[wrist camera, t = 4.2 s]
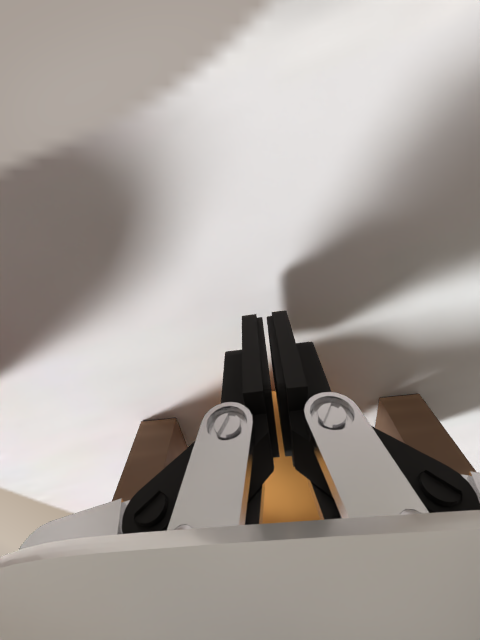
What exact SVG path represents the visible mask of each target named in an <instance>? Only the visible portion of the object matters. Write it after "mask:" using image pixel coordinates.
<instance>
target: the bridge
mask: <svg viewBox="0 0 480 640" xmlns="http://www.w3.org/2000/svg"><path fill="white" fill-rule="evenodd" d="M375 428H376V429H378V430H380V431H382V432H384V433H386V434H388V435H390V436H392V437H393V438H395V439H397V440H399V441H401V442H403V443H405V444H407V445H409V446H411V447H413V448H415V449H416V450H418V451H420V452H422V453H424V454H426V455H428V456H430V457H432V458H434V459H436V460H438V461H439V462H441V463H443V464H445V465H447V466H449V467H450V468H452V469H453V470H455V471H457V472H458V473H459V474H461V475H469V473H470V471H471V472H476V471H475V469H474V468H473V467H472V465H471V464H470V463H469V461H468V460H467V459H466V457H465V456H464V454H463V453H462V452H461V450H460V449H459V448H458V446H457V445H456V444H455V442H454V441H453V439H452V438H451V437H450V435H449V434H448V433H447V431H446V430H445V429H444V427H443V426H442V424H441V423H440V422H439V420H438V419H437V418H436V416H435V415H434V414H433V412H432V411H431V409H430V408H429V407H428V405H427V404H426V403H425V401H424V400H423V399H422V397H421V396H420V394H414V395H404V396H394V397H384V398H379V405H378V411H377V418H376V424H375ZM186 449H187V445H186V443H185V440H184V438H183V435H182V432H181V430H180V427H179V425H178V422H177V420H176V418H173V419H163V420H153V421H142V422H141V424H140V426H139V429H138V432H137V434H136V437H135V440H134V443H133V445H132V448H131V451H130V453H129V456H128V459H127V462H126V464H125V467H124V470H123V472H122V475H121V478H120V481H119V483H118V486H117V489H116V491H115V494H114V497H113V500H112V501H115V500H118V499H121V498H122V500H123V501H124V502H125V501H128V500H131V498H132V497H133V496H134V495H135V494H136V493H137V492H138V491H139V490H140V489H141V488H142V487H143V486H144V485H146V484H147V483H148V482H149V481H150V480H151V479H152V478H154V477H155V476H156V475H157V474H158V473H159V472H161V471H162V470H163V469H164V468H165V467H166V466H167V465H169V464H170V463H171V462H172V461H173V460H174V459H175V458H177V457H178V456H179V455H180V454H181V453H182V452H183V451H185V450H186Z"/></svg>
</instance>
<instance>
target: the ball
mask: <svg viewBox="0 0 480 640" xmlns="http://www.w3.org/2000/svg"><path fill="white" fill-rule="evenodd" d="M272 399H273V407H274V415H275V423H276V431H277V439H278V447H279V455H280V457H275V458H273V460H274V471H273V473H272V474H271V475H270V476H269V477H268V478H267V480H266V481H265V482H264V484H265V494H264V507H263V521H262V524H267V523H282V522H297V521H312V520H321V519H320V516H319V514H318V511H317V508H316V505H315V502H314V499H313V497H312V494H311V491H310V488H309V485H308V480H307V478H306V477H305V476H303V475H302V474H301V473H300V472H298V471H297V470H296V469H295V467H293V462H292V456H287V457H285V452H284V445H283V438H282V431H281V425H280V418H279V411H278V404H277V397H276V391H272Z"/></svg>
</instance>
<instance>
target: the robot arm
mask: <svg viewBox="0 0 480 640" xmlns="http://www.w3.org/2000/svg"><path fill="white" fill-rule="evenodd" d="M267 324H268V333H269V342H270V350H271V359H272V368H273V376H274V383H275V390H276V397H277V404H278V411H279V418H280V425H281V431H282V438H283V445H284V452H285V457H287V456H292V462H293V467H295V469H296V470H297V471H298V472H300V473H301V474H302V475H303V476H305V477H306V478H307V480H308V485H309V488H310V491H311V494H312V497H313V499H314V502H315V505H316V508H317V511H318V514H319V516H320V519H321V520H312V521H297V522H282V523H267V524H262V521H263V507H264V494H265V484H264V482H265V481H266V480H267V478H268V477H269V476H270V475H271V474H272V473H273V471H274V460H273V458H275V457H280V455H279V447H278V439H277V431H276V423H275V415H274V407H273V399H272V391H271V383H270V375H269V368H268V360H267V352H266V344H265V336H264V328H263V320H262V317H260V318H257V317H256V314H254V315H246V316H242V350H236V351H227V352H225V361H224V373H223V386H222V398H221V404H219V405H216V406H215V407H213V408H212V409H210V410H209V411H208V412H207V413H206V414H205V416H204V418H203V420H202V422H201V425H200V428H199V431H198V435H197V438H196V441H195V442H194V443H193V444H191V445H190V446H189V447H188V448H187V449H186V450H185V451H183V452H182V453H181V454H180V455H179V456H178V457H177V458H175V459H174V460H173V461H172V462H171V463H170V464H169V465H167V466H166V467H165V468H164V469H163V470H162V471H161V472H159V473H158V474H157V475H156V476H155V477H154V478H152V479H151V480H150V481H149V482H148V483H147V484H146V485H144V486H143V487H142V488H141V489H140V490H139V491H138V492H137V493H136V494H135V495H134V496H133V497H132V498H131V500H128V501H125V502H124V501H123V500H122V498H121V499H118V500H115V501H112V502H109V503H106V504H103V505H100V506H97V507H93V508H90V509H87V510H84V511H81V512H78V513H75V514H72V515H69V516H66V517H62V518H59V519H56V520H53V521H50V522H49V523H46V524H44V525H42V526H40V527H39V528H38V529H37V530H36V531H34V532H33V533H32V534H31V535H29V537H28V538H27V539H26V540H25V542H24V543H23V544H22V545H21V547H20V548H19V550H18V551H15V552H12V553H9V554H6V555H3V556H1V557H0V640H480V473H479V472H471V471H470V473H469V475H461V474H459V473H458V472H457V471H455V470H453V469H452V468H450V467H449V466H447V465H445V464H443V463H441V462H439V461H438V460H436V459H434V458H432V457H430V456H428V455H426V454H424V453H422V452H420V451H418V450H416V449H415V448H413V447H411V446H409V445H407V444H405V443H403V442H401V441H399V440H397V439H395V438H393V437H392V436H390V435H388V434H386V433H384V432H382V431H380V430H378V429H376V428H374V427H372V426H371V425H370V424H369V422H368V421H367V419H366V418H365V416H364V415H363V413H362V412H361V410H360V409H359V407H358V406H357V405H356V404H355V403H354V401H353V400H351V399H350V398H348V397H346V396H345V395H342V394H339V393H334V392H331V390H330V387H329V384H328V382H327V379H326V376H325V374H324V371H323V368H322V366H321V363H320V360H319V358H318V355H317V352H316V350H315V347H314V345H313V342H304V343H295V339H294V336H293V332H292V329H291V325H290V322H289V318H288V315H287V311H278V312H272V316H268V317H267Z"/></svg>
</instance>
